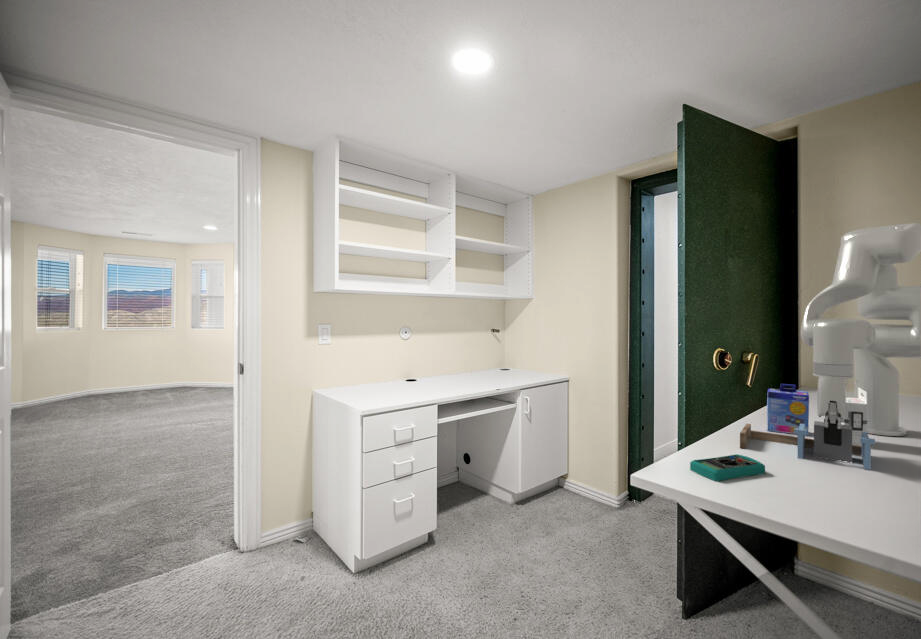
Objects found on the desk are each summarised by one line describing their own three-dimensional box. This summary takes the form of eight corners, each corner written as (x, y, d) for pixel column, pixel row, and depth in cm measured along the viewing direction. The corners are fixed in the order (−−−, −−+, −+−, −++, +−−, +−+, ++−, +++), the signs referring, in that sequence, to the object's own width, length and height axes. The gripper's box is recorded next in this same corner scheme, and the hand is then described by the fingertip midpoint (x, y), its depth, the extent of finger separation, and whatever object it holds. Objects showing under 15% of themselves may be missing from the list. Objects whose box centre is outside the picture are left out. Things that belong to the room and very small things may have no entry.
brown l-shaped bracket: (747, 436, 123) (747, 422, 123) (866, 454, 107) (866, 439, 107) (739, 448, 113) (739, 433, 113) (870, 470, 97) (870, 452, 97)
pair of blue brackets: (796, 445, 115) (796, 419, 115) (870, 456, 105) (871, 428, 105) (793, 457, 106) (794, 429, 106) (874, 470, 96) (875, 440, 96)
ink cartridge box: (767, 431, 128) (767, 383, 128) (767, 427, 132) (767, 380, 132) (809, 436, 122) (809, 386, 122) (808, 432, 127) (808, 383, 126)
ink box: (835, 437, 122) (835, 385, 121) (858, 439, 119) (859, 386, 119) (843, 445, 114) (843, 390, 114) (868, 448, 112) (868, 392, 111)
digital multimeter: (767, 475, 96) (767, 462, 96) (715, 483, 92) (715, 470, 92) (738, 464, 103) (738, 452, 103) (688, 471, 99) (688, 459, 99)
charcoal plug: (814, 451, 110) (814, 421, 109) (851, 457, 105) (851, 425, 105) (813, 456, 106) (814, 424, 106) (851, 463, 102) (852, 429, 101)
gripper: (813, 365, 114) (813, 429, 114) (812, 373, 101) (811, 445, 101) (852, 367, 109) (851, 434, 110) (855, 376, 96) (854, 452, 96)
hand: (832, 439), depth 105 cm, fingers open, 9 cm apart
